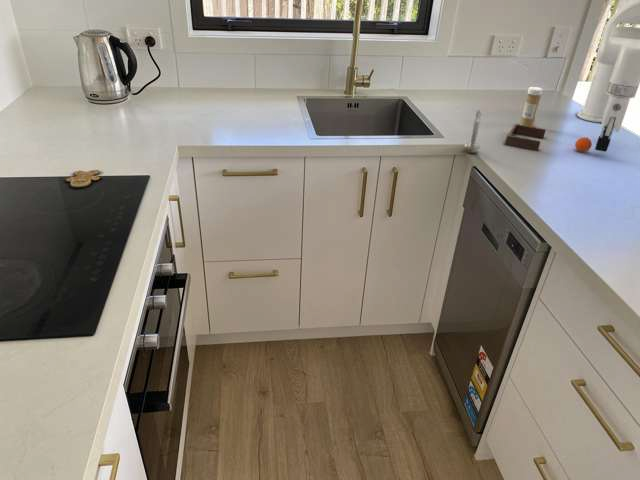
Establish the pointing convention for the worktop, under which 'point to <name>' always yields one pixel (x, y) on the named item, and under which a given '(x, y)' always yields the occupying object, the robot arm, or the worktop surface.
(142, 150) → the worktop surface
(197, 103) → the worktop surface
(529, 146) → the brown u-shaped piece
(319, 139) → the worktop surface
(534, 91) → the sprinkles bottle
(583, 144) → the ball
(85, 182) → the cookie
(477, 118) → the screw
